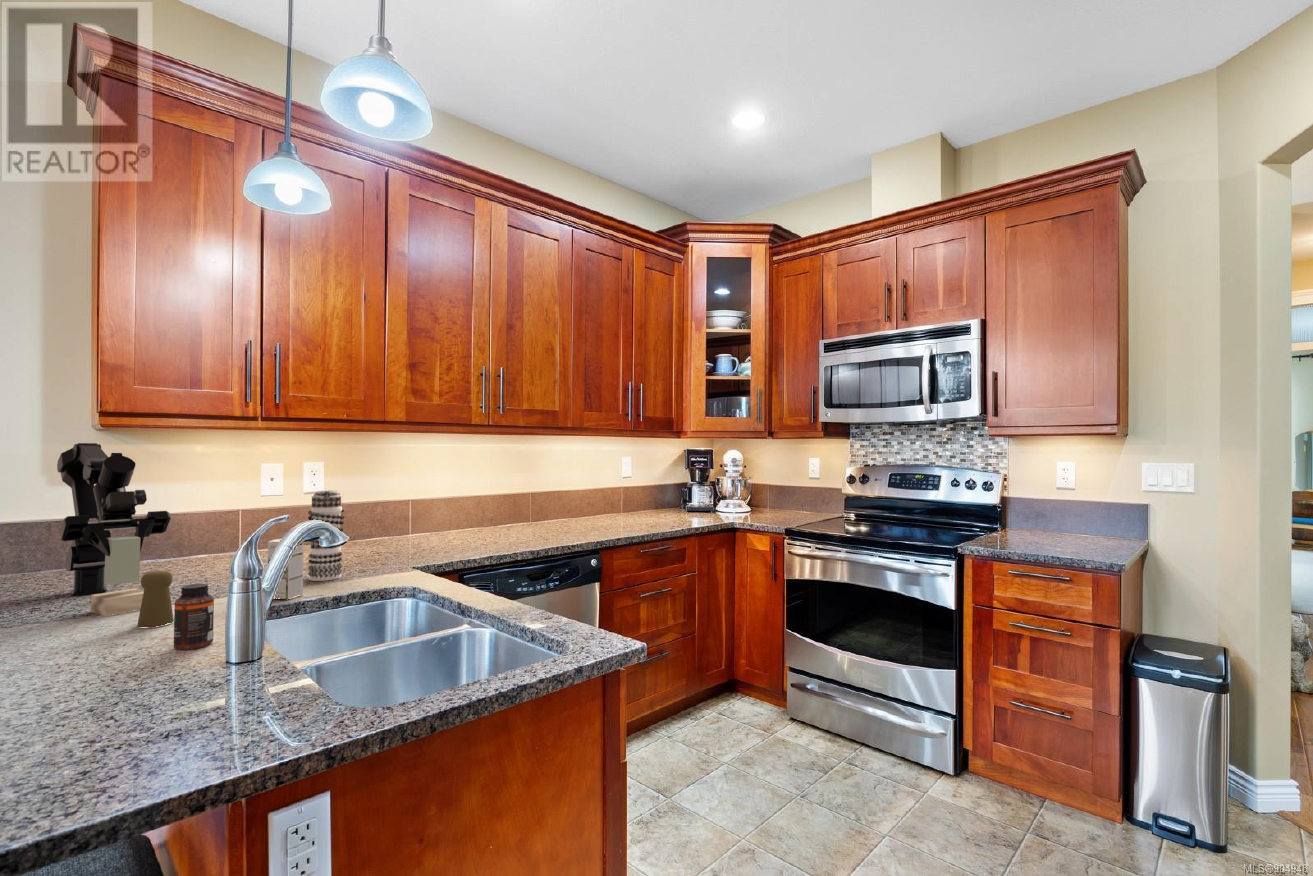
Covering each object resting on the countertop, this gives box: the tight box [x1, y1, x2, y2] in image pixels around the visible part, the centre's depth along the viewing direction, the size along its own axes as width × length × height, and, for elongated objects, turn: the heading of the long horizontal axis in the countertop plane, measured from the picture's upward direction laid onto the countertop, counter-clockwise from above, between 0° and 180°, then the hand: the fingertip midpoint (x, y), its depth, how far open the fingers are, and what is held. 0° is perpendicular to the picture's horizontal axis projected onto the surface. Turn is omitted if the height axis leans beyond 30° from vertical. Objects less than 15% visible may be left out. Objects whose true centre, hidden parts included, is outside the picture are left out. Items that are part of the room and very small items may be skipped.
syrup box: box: [267, 537, 304, 601], centre depth 153 cm, size 6×6×14 cm
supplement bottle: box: [173, 583, 215, 651], centre depth 115 cm, size 6×6×11 cm
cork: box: [136, 570, 174, 628], centre depth 129 cm, size 6×6×11 cm
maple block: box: [90, 587, 144, 617], centre depth 140 cm, size 8×8×4 cm
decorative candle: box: [307, 490, 345, 582], centre depth 177 cm, size 9×9×25 cm
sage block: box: [104, 535, 141, 586], centre depth 140 cm, size 5×5×10 cm
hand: (124, 553), depth 139 cm, fingers closed on sage block, 5 cm apart
